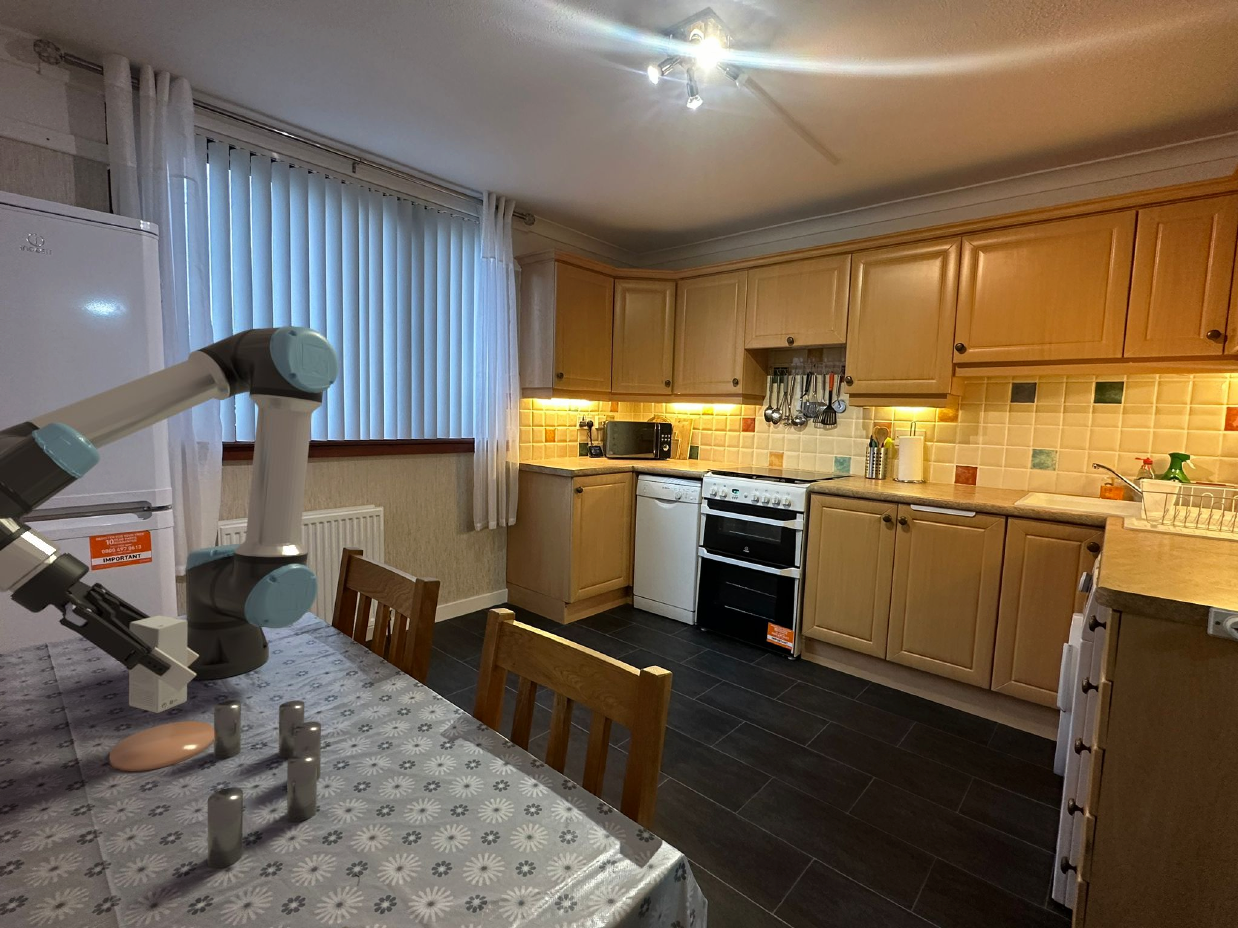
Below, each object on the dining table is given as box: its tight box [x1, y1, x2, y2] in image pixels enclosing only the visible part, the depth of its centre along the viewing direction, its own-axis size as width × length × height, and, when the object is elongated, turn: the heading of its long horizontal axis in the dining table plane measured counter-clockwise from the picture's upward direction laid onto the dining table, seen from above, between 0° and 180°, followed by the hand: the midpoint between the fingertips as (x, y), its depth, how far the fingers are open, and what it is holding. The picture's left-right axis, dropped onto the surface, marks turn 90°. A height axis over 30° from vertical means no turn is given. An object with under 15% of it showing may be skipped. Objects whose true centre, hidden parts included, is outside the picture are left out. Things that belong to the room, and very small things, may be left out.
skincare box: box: [128, 614, 188, 714], centre depth 84 cm, size 6×4×12 cm
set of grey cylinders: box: [207, 699, 322, 870], centre depth 76 cm, size 21×24×7 cm
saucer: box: [109, 720, 214, 772], centre depth 86 cm, size 12×12×1 cm
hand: (189, 672), depth 86 cm, fingers closed on skincare box, 7 cm apart
